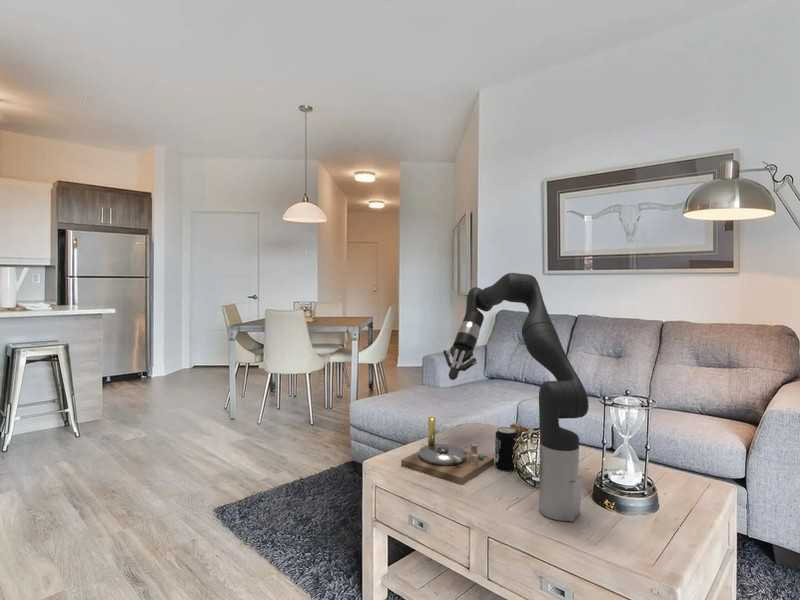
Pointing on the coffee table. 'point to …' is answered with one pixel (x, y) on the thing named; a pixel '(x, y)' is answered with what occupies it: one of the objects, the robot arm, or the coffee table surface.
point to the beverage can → (505, 448)
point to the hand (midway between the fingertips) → (451, 378)
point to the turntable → (452, 466)
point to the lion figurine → (518, 429)
